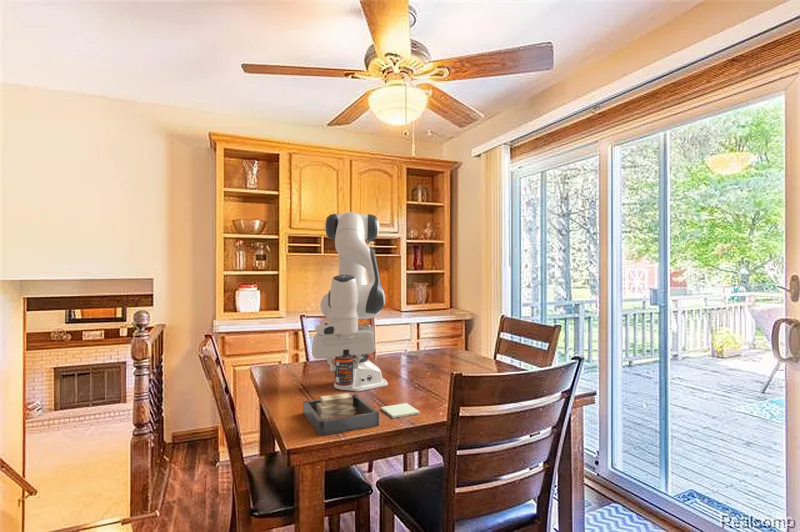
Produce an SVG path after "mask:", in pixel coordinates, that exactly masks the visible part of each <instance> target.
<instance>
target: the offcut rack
mask: <svg viewBox="0 0 800 532" xmlns="http://www.w3.org/2000/svg"><path fill="white" fill-rule="evenodd" d="M350 395H351V396H352V397H353V407H354V408H355V410H357V411H358V412H359V413H360V414H352V415H346V416H340V417H334V418H328V419H321V418H320V417H319V415H318V414H317V413H316V403H320V399H314V400H307V401H306V400H305V401H303V402H302V403H303V405H302V406H303V408H302V409H303V411H302V413H303V415H304V417H306V419H307V421H308V422H309V423H310V424H311V426H312V428H313V429H314V430H315V432H316V433H317V434H318V436H319V437H321V436H328V435H333V434H338V433H344V432H348V431H349V430H350V431H355V429H356V430H360V428H362V429H366V428H373V427H378V425H379V426H380V413H379V411H377V409H375V408H374V407H372V406H371V405H370V404H369V403H367V402H366V400H364V399H363V398H361V397H360V396H359V395H358V394H350Z"/></svg>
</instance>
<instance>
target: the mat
mask: <svg viewBox="0 0 800 532" xmlns="http://www.w3.org/2000/svg"><path fill="white" fill-rule="evenodd" d="M380 410H381V411H383V412H384V413H385V412H386V413H387V416H389V415H390V416H391V417H390V416H389V417H390V418H392V419H393V418H394V419H398V418H397V417H400V418H404V416H406V417H410V416H409V415H411V416H415V414H417V415H420V414H421V412H420V410H418V409H417V408H415V407H413V406H412V405H411V404H409V403H408V402H404V403H399V404H398V403H397V404H391V405H385V406H381V407H380ZM386 413H385V414H386Z"/></svg>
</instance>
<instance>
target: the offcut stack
mask: <svg viewBox="0 0 800 532" xmlns="http://www.w3.org/2000/svg"><path fill="white" fill-rule="evenodd" d="M351 395H352V394H350V392H346V393H337V394H329V395H322V396H319V400H320V403H316V413H317V414H318V415H319V417H320V418H321V419H322V420H328V419H335V418H340V417H346V416H352V415H356V408H355V407H353V397H352V396H351ZM351 414H352V415H351ZM345 415H346V416H345ZM339 416H340V417H339Z"/></svg>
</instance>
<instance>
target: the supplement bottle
mask: <svg viewBox="0 0 800 532" xmlns="http://www.w3.org/2000/svg"><path fill="white" fill-rule="evenodd" d="M334 365H336V371H334V383H336V384H337V385H340V386H347V385H351V384H353V382H354V357H353V355H350V354H349V349H345V350H343V355H342V356H340V357H334Z"/></svg>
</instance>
